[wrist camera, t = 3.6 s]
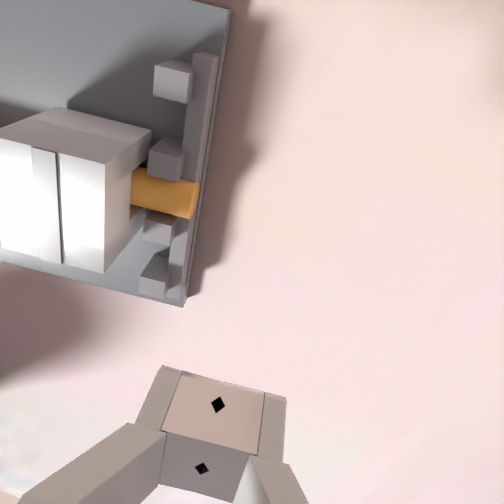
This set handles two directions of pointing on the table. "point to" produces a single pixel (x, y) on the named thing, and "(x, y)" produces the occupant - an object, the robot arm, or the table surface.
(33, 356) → the table surface
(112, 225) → the sleeve
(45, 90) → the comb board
